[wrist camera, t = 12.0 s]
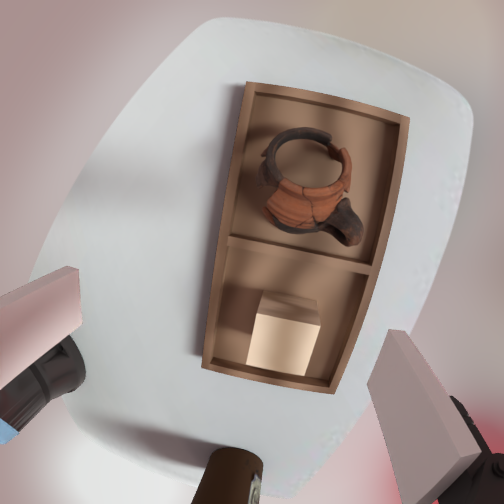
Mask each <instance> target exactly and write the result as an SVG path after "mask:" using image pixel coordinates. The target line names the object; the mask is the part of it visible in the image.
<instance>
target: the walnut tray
mask: <svg viewBox="0 0 504 504" xmlns="http://www.w3.org/2000/svg"><path fill="white" fill-rule="evenodd" d="M409 123H410V118H409V117H406V116H403V115H400V114H397V113H394V112H391V111H388V110H385V109H381V108H378V107H375V106H371V105H368V104H364V103H360V102H357V101H353V100H349V99H345V98H341V97H337V96H332V95H328V94H323V93H318V92H313V91H308V90H303V89H297V88H291V87H285V86H278V85H271V84H264V83H256V82H247V81H246V85H245V90H244V95H243V100H242V105H241V110H240V115H239V121H238V126H237V131H236V137H235V142H234V147H233V153H232V159H231V164H230V170H229V176H228V181H227V187H226V193H225V199H224V205H223V212H222V218H221V224H220V231H219V237H218V244H217V250H216V257H215V264H214V271H213V278H212V285H211V293H210V300H209V308H208V315H207V323H206V331H205V339H204V348H203V356H202V365H201V368H204V369H208V370H212V371H215V372H219V373H223V374H227V375H231V376H235V377H240V378H244V379H248V380H253V381H258V382H262V383H267V384H272V385H277V386H283V387H288V388H294V389H300V390H306V391H312V392H319V393H326V394H335V392H336V389H337V387H338V385H339V382H340V380H341V378H342V375H343V373H344V371H345V368H346V366H347V363H348V361H349V359H350V356H351V353H352V351H353V348H354V346H355V343H356V341H357V338H358V335H359V332H360V330H361V327H362V324H363V321H364V318H365V316H366V313H367V310H368V307H369V304H370V301H371V298H372V294H373V291H374V288H375V285H376V282H377V278H378V275H379V271H380V268H381V264H382V261H383V257H384V254H385V250H386V246H387V242H388V238H389V234H390V230H391V226H392V222H393V217H394V213H395V208H396V203H397V199H398V194H399V188H400V183H401V178H402V172H403V166H404V160H405V153H406V146H407V139H408V131H409ZM298 127H311V128H316V129H319V130H323V131H325V132H327V133H329V134H331V136H332V141H331V143H332V144H334V145H335V146H337V147H338V148H339V149H341V148H344V147H345V148H346V150H347V151H348V153H349V155H350V157H351V162H352V172H351V185H350V190H349V193H346V192H343V197H342V199H343V198H345V197H347V198H349V199H350V202H351V208H352V210H353V211H354V212H355V213H356V214H357V215H358V217H359V218H360V220H361V222H362V224H363V226H364V234H363V237H362V240H361V242H360V243H359V244H358V245H357V246H351V247H346V246H344V245H343V244H341V243H340V242H339V241H337V240H336V239H335V238H334V237H333V236H332V235H331V234H329V233H327V232H323V231H319V232H314V233H306V234H290V233H287V232H284V231H282V230H280V229H278V228H277V227H275V226H274V225H273V224H272V223H271V222H270V221H269V220H268V219H267V218H266V216H265V215H264V213H263V211H262V208H263V207H264V206H266V207H267V200H268V199H269V198H270V197H271V196H272V195H273V193H274V192H275V191H276V190H277V187H273V186H263V187H262V188H260V189H259V188H258V187H257V184H256V180H255V177H256V175H257V174H258V169H259V166H260V165H261V163H262V162H263V161H264V160H265V159H266V157H261V154H262V152H263V151H264V150H265V149H266V148H267V147H268V146H269V143H270V142H271V141H272V139H273V138H274V137H276V136H277V135H278V134H279V133H281V132H283V131H286V130H288V129H292V128H298ZM275 161H276V165H277V167H278V169H279V171H280V172H281V174H282V175H283V176H284V177H285V178H287V179H288V180H290V181H292V182H293V183H295V184H297V185H300V186H303V187H309V188H320V187H325V186H328V185H331V184H333V183H334V182H335V181H337V180H338V178H339V177H340V175H341V172H342V164H341V163H340V162H338V161H336V160H334V159H333V158H331V157H330V156H329V152H328V149H327V147H326V146H324V145H322V144H320V143H318V142H316V141H313V140H309V139H296V140H291V141H288V142H286V143H284V144H283V145H282V146H281V147H280V148H279V149H278V150H277V152H276V156H275ZM267 208H268V207H267ZM270 213H271V212H270ZM271 214H272V215H273V213H271ZM315 222H316V224H318V223H319V222H318V221H315ZM264 290H266V291H271V292H276V293H280V294H285V295H290V296H295V297H300V298H305V299H310V300H315V301H317V306H318V312H319V319H320V325H321V326H320V330H319V333H318V336H317V339H316V342H315V345H314V348H313V351H312V354H311V357H310V360H309V363H308V366H307V369H306V372H305V375H304V376H301V375H295V374H290V373H284V372H279V371H274V370H269V369H264V368H260V367H255V366H250V365H246V362H247V357H248V352H249V348H250V343H251V338H252V334H253V329H254V324H255V319H256V314H257V311H258V307H259V304H260V301H261V297H262V294H263V291H264Z"/></svg>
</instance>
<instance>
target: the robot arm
mask: <svg viewBox="0 0 504 504" xmlns="http://www.w3.org/2000/svg"><path fill="white" fill-rule="evenodd" d="M82 324H83V321H82V311H81V300H80V285H79V269H76V268H73V267H69V266H65V267H63V268H61V269H59V270H56V271H54V272H52V273H50V274H47V275H45V276H43V277H41V278H39V279H37V280H34V281H32V282H30V283H28V284H26V285H24V286H22V287H20V288H18V289H16V290H14V291H12V292H9V293H8V294H5V295H3V296H1V297H0V444H6V443H7V442H8V441H10V440H11V439H12V438H14V437H15V436H16V435H18V434H19V432H20V431H21V430H22V429H23V428H24V427H25V426H26V425H27V424H28V423H29V422H30V421H31V420H32V419H33V418H34V416H35V415H37V414H38V413H39V411H40V410H41V409H42V408H43V407H44V406H45V405H46V404H47V403H48V402H50V400H52V399H54V398H57V397H59V396H61V395H63V394H65V393H70V392H73V391H75V390H76V389H77V388H78V387H79V386H80V385H81V384H82V383H83V382H84V380H85V375H86V371H85V365H84V362H83V359H82V356H81V354H80V352H79V350H78V348H77V346H76V344H75V343H74V341H73V340H72V338H71V337H70V336H69V334H70V333H72V332H73V331H74V330H75V329H77V328H78V327H79V326H81V325H82ZM367 386H368V389H369V392H370V395H371V398H372V401H373V404H374V407H375V410H376V413H377V416H378V420H379V423H380V426H381V429H382V432H383V436H384V439H385V442H386V446H387V449H388V453H389V456H390V459H391V463H392V467H393V470H394V474H395V478H396V482H397V485H398V489H399V493H400V497H401V501H402V504H432V503H433V502H434V501H435V500H436V499H438V502H439V504H504V454H501V453H495V454H492V453H491V451H490V449H489V447H488V446H487V444H486V442H485V441H484V439H483V437H482V435H481V434H480V432H479V430H478V428H477V427H476V426H475V425H474V422H473V420H472V419H471V417H469V414H468V412H467V411H466V409H465V408H464V406H463V405H462V404H461V403H460V402H459V401H458V400H457V399H456V398H454V397H453V396H449V395H448V394H447V392H446V391H445V389H444V388H443V386H442V384H441V383H440V381H439V380H438V378H437V377H436V375H435V374H434V372H433V371H432V369H431V368H430V366H429V365H428V363H427V362H426V360H425V359H424V357H423V356H422V354H421V353H420V352H419V350H418V349H417V347H416V346H415V344H414V343H413V342H412V340H411V339H410V337H409V336H408V334H407V333H406V332H405V331H401V330H391V329H389V330H388V333H387V335H386V338H385V341H384V343H383V346H382V349H381V351H380V354H379V356H378V359H377V361H376V364H375V366H374V369H373V371H372V373H371V376H370V378H369V380H368V383H367Z"/></svg>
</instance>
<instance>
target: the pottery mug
mask: <svg viewBox="0 0 504 504" xmlns="http://www.w3.org/2000/svg"><path fill="white" fill-rule="evenodd" d="M296 139H309V140H313V141H316V142H318V143H320V144H322V145H324V146H326V147H327V149H328V152H329V156H330V157H331V158H333V159H334V160H336V161H338V162H340V163H341V164H342V172H341V175H340V177H339V178H338V180H337V181H335V182H334V183H333V184H331V185H328V186H325V187H320V188H309V187H303V186H300V185H297V184H295V183H293V182H292V181H290V180H288V179H287V178H285V177H284V176H283V175H282V174H281V172H280V171H279V169H278V167H277V165H276V161H275V156H276V152H277V150H278V149H279V148H280V147H281V146H282V145H283V144H284V143H286V142H288V141H291V140H296ZM331 141H332V136H331V134H329V133H327V132H325V131H323V130H319V129H316V128H311V127H298V128H292V129H288V130H286V131H283V132H281V133H279V134H278V135H277V136H276V137H274V138H273V139H272V141H271V142H270V143H269V146H268V147H267V148H266V149H265V150H264V151H263V152H262V154H261V157H266V159H265V160H264V161H263V162H262V163H261V165H260V166H259V169H258V174H257V175H256V177H255V180H256V184H257V187H258V188H259V189H260V188H262V187H263V186H273V187H277V190H276V191H275V192H274V193H273V195H272V196H271V197H270V198H269V199H268V200H267V207H268V208H267V207H266V206H264V207H263V208H262V211H263V213H264V215H265V216H266V218H267V219H268V220H269V221H270V222H271V223H272V224H273V225H274V226H275V227H277V228H278V229H280V230H282V231H284V232H287V233H290V234H306V233H314V232H319V231H323V232H327V233H329V234H331V235H332V236H333V237H334V238H335V239H336V240H337V241H339V242H340V243H341V244H343V245H344V246H346V247H351V246H357V245H358V244H359V243H360V242H361V240H362V237H363V234H364V226H363V224H362V222H361V220H360V218H359V217H358V215H357V214H356V213H355V212H354V211H353V210H352V208H351V202H350V199H349V198H347V197H345V198H343V199H342V197H343V192H346V193H349V190H350V185H351V172H352V162H351V157H350V155H349V153H348V151H347V150H346V148H345V147H344V148H341V149H339V148H338V147H337V146H335V145H334V144H332V143H331ZM270 212H271V213H273V215H272V214H271V213H270ZM315 221H318V222H319V223H318V224H316V222H315Z"/></svg>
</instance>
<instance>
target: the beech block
mask: <svg viewBox="0 0 504 504" xmlns="http://www.w3.org/2000/svg"><path fill="white" fill-rule="evenodd" d="M320 326H321V325H320V319H319V312H318V306H317V301H315V300H310V299H305V298H300V297H295V296H290V295H285V294H280V293H276V292H271V291H266V290H264V291H263V294H262V297H261V301H260V304H259V307H258V311H257V314H256V319H255V324H254V329H253V334H252V338H251V343H250V348H249V352H248V357H247V362H246V365H250V366H255V367H260V368H264V369H269V370H274V371H279V372H284V373H290V374H295V375H301V376H304V375H305V372H306V369H307V366H308V363H309V360H310V357H311V354H312V351H313V348H314V345H315V342H316V339H317V336H318V333H319V330H320Z"/></svg>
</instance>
